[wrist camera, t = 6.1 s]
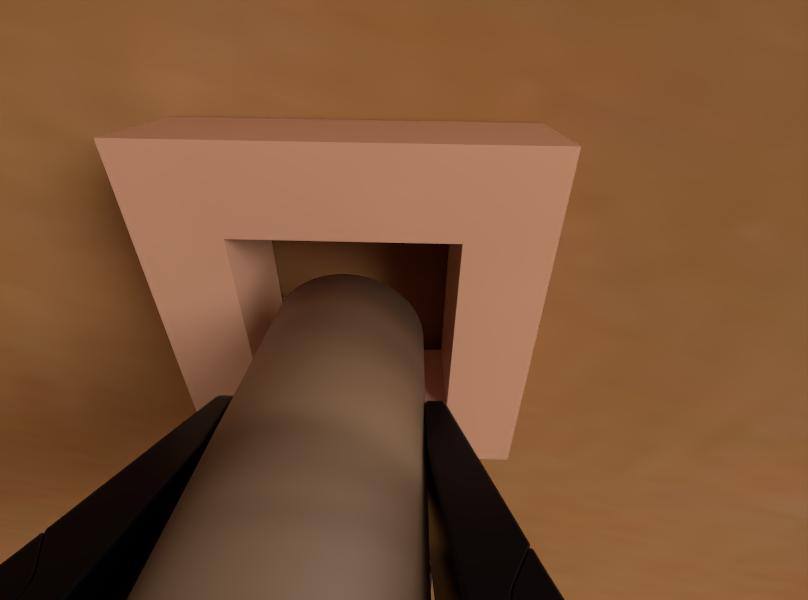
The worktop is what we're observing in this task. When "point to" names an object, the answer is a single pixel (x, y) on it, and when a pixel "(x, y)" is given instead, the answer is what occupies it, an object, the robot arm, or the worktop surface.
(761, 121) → the worktop surface
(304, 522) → the peg
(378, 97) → the worktop surface
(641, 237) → the worktop surface
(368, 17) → the worktop surface
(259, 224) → the socket block
